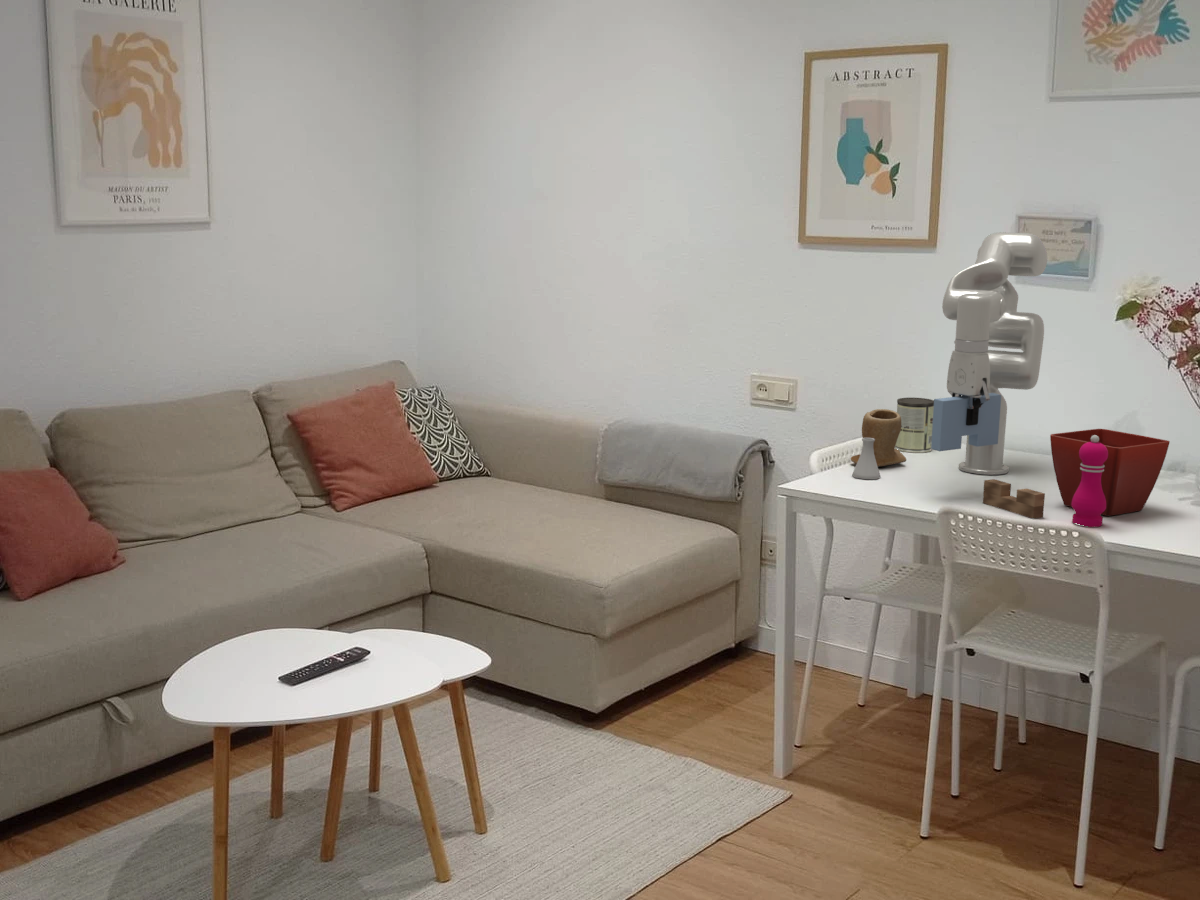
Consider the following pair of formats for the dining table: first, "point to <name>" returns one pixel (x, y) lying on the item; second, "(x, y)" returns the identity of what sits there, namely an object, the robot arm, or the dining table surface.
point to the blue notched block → (964, 423)
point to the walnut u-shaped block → (1013, 499)
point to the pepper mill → (1090, 485)
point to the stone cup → (883, 436)
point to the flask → (867, 462)
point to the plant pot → (1111, 467)
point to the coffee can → (915, 424)
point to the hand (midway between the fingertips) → (966, 422)
